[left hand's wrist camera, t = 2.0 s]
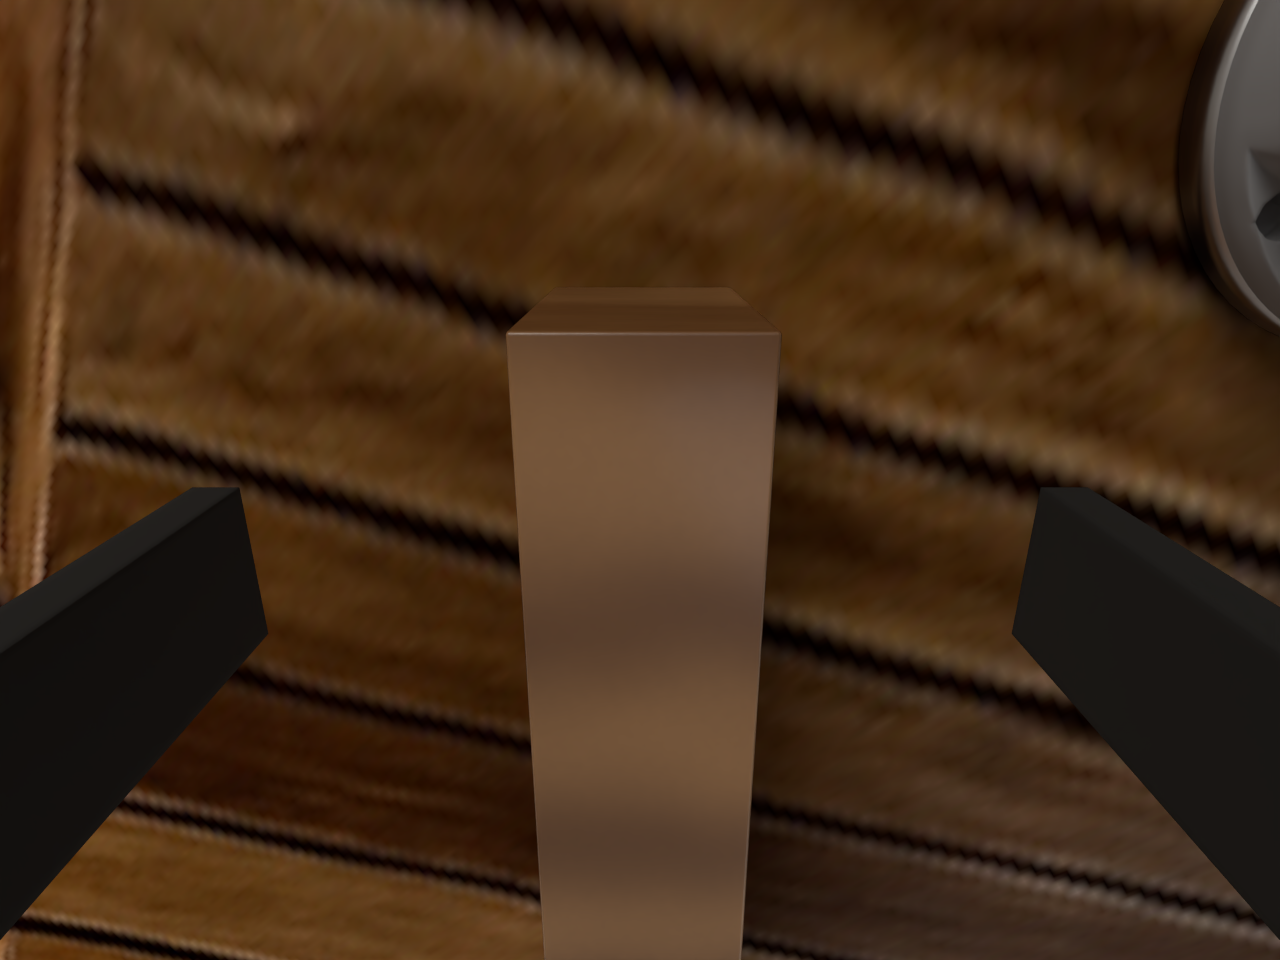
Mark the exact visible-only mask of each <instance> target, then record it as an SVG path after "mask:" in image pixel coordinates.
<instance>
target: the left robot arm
mask: <svg viewBox="0 0 1280 960" xmlns="http://www.w3.org/2000/svg"><path fill="white" fill-rule="evenodd" d="M1178 167H1179V189H1180V197H1181V204H1182V211H1183V215H1184V219H1185V223H1186V227H1187V231H1188V234H1189V237H1190V240H1191V242H1192V245H1193V248H1194V250H1195V253H1196V255H1197V257H1198V259H1199V261H1200V263H1201V265H1202V267H1203V269H1204V271H1205V272H1206V274H1207V275H1208V277H1209V278H1210V280H1211V281H1212V283H1213V284H1214V285H1215V287H1216V288H1217V290H1218V291H1219V292H1220V293H1221V294H1222V295H1223V296H1224V297H1225V299H1226V300H1227V301H1228V302H1229V303H1230V304H1231V305H1232V306H1233V307H1234V308H1236V309H1237V310H1238V311H1239V312H1240V313H1241V314H1242V315H1244V316H1245V317H1246V318H1248V319H1249V320H1251V321H1252V322H1254V323H1255V324H1257V325H1258V326H1260V327H1261V328H1263V329H1265V330H1267V331H1269V332H1271V333H1273V334H1275V335H1277V336H1279V337H1280V0H1224V2H1223V4H1222V6H1221V8H1220V10H1219V12H1218V14H1217V16H1216V18H1215V20H1214V22H1213V24H1212V26H1211V28H1210V31H1209V33H1208V35H1207V38H1206V40H1205V43H1204V45H1203V47H1202V50H1201V52H1200V55H1199V58H1198V61H1197V64H1196V67H1195V70H1194V73H1193V76H1192V79H1191V82H1190V86H1189V91H1188V95H1187V99H1186V103H1185V107H1184V113H1183V119H1182V126H1181V132H1180V143H1179V159H1178ZM267 634H268V630H267V625H266V620H265V615H264V610H263V605H262V600H261V595H260V590H259V585H258V580H257V575H256V570H255V564H254V559H253V554H252V549H251V544H250V539H249V534H248V529H247V524H246V519H245V514H244V509H243V504H242V499H241V494H240V489H239V488H191V489H189V490H188V491H186V492H185V493H183V494H181V495H180V496H178V497H176V498H175V499H173V500H172V501H170V502H168V503H167V504H165V505H164V506H162V507H160V508H159V509H157V510H156V511H154V512H152V513H151V514H149V515H148V516H146V517H144V518H143V519H141V520H140V521H138V522H136V523H135V524H133V525H132V526H130V527H128V528H127V529H125V530H124V531H122V532H120V533H119V534H117V535H115V536H114V537H112V538H111V539H109V540H107V541H106V542H104V543H103V544H101V545H99V546H98V547H96V548H95V549H93V550H91V551H90V552H88V553H87V554H85V555H83V556H82V557H80V558H79V559H77V560H75V561H74V562H72V563H71V564H69V565H67V566H66V567H64V568H63V569H61V570H59V571H58V572H56V573H55V574H53V575H51V576H50V577H48V578H46V579H45V580H43V581H42V582H40V583H38V584H37V585H35V586H34V587H32V588H30V589H29V590H27V591H26V592H24V593H22V594H21V595H19V596H18V597H16V598H14V599H13V600H11V601H10V602H8V603H6V604H5V605H3V606H2V607H0V940H1V939H2V937H3V936H4V935H5V934H6V933H7V932H8V931H9V929H10V928H11V927H12V926H13V925H14V924H15V923H16V921H17V920H18V919H19V918H20V917H21V916H22V915H23V913H24V912H25V911H26V910H27V909H28V908H29V907H30V905H31V904H32V903H33V902H34V901H35V900H36V899H37V897H38V896H39V895H40V894H41V893H42V892H43V891H44V889H45V888H46V887H47V886H48V885H49V884H50V883H51V881H52V880H53V879H54V878H55V877H56V876H57V875H58V873H59V872H60V871H61V870H62V869H63V868H64V867H65V865H66V864H67V863H68V862H69V861H70V860H71V859H72V857H73V856H74V855H75V854H76V853H77V852H78V851H79V849H80V848H81V847H82V846H83V845H84V844H85V843H86V841H87V840H88V839H89V838H90V837H91V836H92V835H93V833H94V832H95V831H96V830H97V829H98V828H99V827H100V825H101V824H102V823H103V822H104V821H105V820H106V819H107V817H108V816H109V815H110V814H111V813H112V812H113V811H114V809H115V808H116V807H117V806H118V805H119V804H120V803H121V801H122V800H123V799H124V798H125V797H126V796H127V795H128V793H129V792H130V791H131V790H132V789H133V788H134V787H135V785H136V784H137V783H138V782H139V781H140V780H141V779H142V777H143V776H144V775H145V774H146V773H147V772H148V771H149V769H150V768H151V767H152V766H153V765H154V764H155V763H156V761H157V760H158V759H159V758H160V757H161V756H162V755H163V753H164V752H165V751H166V750H167V749H168V748H169V747H170V745H171V744H172V743H173V742H174V741H175V740H176V739H177V737H178V736H179V735H180V734H181V733H182V732H183V731H184V729H185V728H186V727H187V726H188V725H189V724H190V723H191V721H192V720H193V719H194V718H195V717H196V716H197V715H198V713H199V712H200V711H201V710H202V709H203V708H204V707H205V705H206V704H207V703H208V702H209V701H210V700H211V699H212V697H213V696H214V695H215V694H216V693H217V692H218V691H219V689H220V688H221V687H222V686H223V685H224V684H225V683H226V681H227V680H228V679H229V678H230V677H231V676H232V675H233V673H234V672H235V671H236V670H237V669H238V668H239V666H240V665H241V664H242V663H243V662H244V661H245V660H246V658H247V657H248V656H249V655H250V654H251V653H252V652H253V650H254V649H255V648H256V647H257V646H258V645H259V644H260V642H261V641H262V640H263V639H264V638H265V637H266V636H267ZM1012 634H1013V636H1014V637H1015V638H1016V639H1017V640H1018V641H1019V642H1020V644H1021V645H1022V646H1023V647H1024V648H1025V649H1026V650H1027V652H1028V653H1029V654H1030V655H1031V656H1032V657H1033V658H1034V660H1035V661H1036V662H1037V663H1038V664H1039V665H1040V667H1041V668H1042V669H1043V670H1044V671H1045V672H1046V673H1047V675H1048V676H1049V677H1050V678H1051V679H1052V680H1053V681H1054V683H1055V684H1056V685H1057V686H1058V687H1059V688H1060V689H1061V691H1062V692H1063V693H1064V694H1065V695H1066V696H1067V697H1068V699H1069V700H1070V701H1071V702H1072V703H1073V704H1074V705H1075V707H1076V708H1077V709H1078V710H1079V711H1080V712H1081V713H1082V715H1083V716H1084V717H1085V718H1086V719H1087V720H1088V721H1089V723H1090V724H1091V725H1092V726H1093V727H1094V728H1095V729H1096V731H1097V732H1098V733H1099V734H1100V735H1101V736H1102V737H1103V739H1104V740H1105V741H1106V742H1107V743H1108V744H1109V745H1110V747H1111V748H1112V749H1113V750H1114V751H1115V752H1116V753H1117V755H1118V756H1119V757H1120V758H1121V759H1122V760H1123V761H1124V763H1125V764H1126V765H1127V766H1128V767H1129V768H1130V769H1131V771H1132V772H1133V773H1134V774H1135V775H1136V776H1137V777H1138V779H1139V780H1140V781H1141V782H1142V783H1143V784H1144V785H1145V787H1146V788H1147V789H1148V790H1149V791H1150V792H1151V793H1152V795H1153V796H1154V797H1155V798H1156V799H1157V800H1158V801H1159V803H1160V804H1161V805H1162V806H1163V807H1164V808H1165V809H1166V811H1167V812H1168V813H1169V814H1170V815H1171V816H1172V817H1173V819H1174V820H1175V821H1176V822H1177V823H1178V824H1179V825H1180V827H1181V828H1182V829H1183V830H1184V831H1185V832H1186V833H1187V835H1188V836H1189V837H1190V838H1191V839H1192V840H1193V841H1194V843H1195V844H1196V845H1197V846H1198V847H1199V848H1200V849H1201V851H1202V852H1203V853H1204V854H1205V855H1206V856H1207V857H1208V859H1209V860H1210V861H1211V862H1212V863H1213V864H1214V865H1215V867H1216V868H1217V869H1218V870H1219V871H1220V872H1221V873H1222V875H1223V876H1224V877H1225V878H1226V879H1227V880H1228V881H1229V883H1230V884H1231V885H1232V886H1233V887H1234V888H1235V889H1236V891H1237V892H1238V893H1239V894H1240V895H1241V896H1242V897H1243V899H1244V900H1245V901H1246V902H1247V903H1248V904H1249V905H1250V907H1251V908H1252V909H1253V910H1254V911H1255V912H1256V913H1257V915H1258V916H1259V917H1260V918H1261V919H1262V920H1263V921H1264V923H1265V924H1266V925H1267V926H1268V927H1269V928H1270V929H1271V931H1272V932H1273V933H1274V934H1275V935H1276V936H1277V937H1278V939H1279V940H1280V607H1278V606H1277V605H1275V604H1274V603H1272V602H1270V601H1269V600H1267V599H1266V598H1264V597H1262V596H1261V595H1259V594H1258V593H1256V592H1254V591H1253V590H1251V589H1250V588H1248V587H1246V586H1245V585H1243V584H1242V583H1240V582H1238V581H1237V580H1235V579H1234V578H1232V577H1230V576H1229V575H1227V574H1225V573H1224V572H1222V571H1221V570H1219V569H1217V568H1216V567H1214V566H1213V565H1211V564H1209V563H1208V562H1206V561H1205V560H1203V559H1201V558H1200V557H1198V556H1197V555H1195V554H1193V553H1192V552H1190V551H1189V550H1187V549H1185V548H1184V547H1182V546H1181V545H1179V544H1177V543H1176V542H1174V541H1173V540H1171V539H1169V538H1168V537H1166V536H1165V535H1163V534H1161V533H1160V532H1158V531H1156V530H1155V529H1153V528H1152V527H1150V526H1148V525H1147V524H1145V523H1144V522H1142V521H1140V520H1139V519H1137V518H1136V517H1134V516H1132V515H1131V514H1129V513H1128V512H1126V511H1124V510H1123V509H1121V508H1120V507H1118V506H1116V505H1115V504H1113V503H1112V502H1110V501H1108V500H1107V499H1105V498H1104V497H1102V496H1100V495H1099V494H1097V493H1095V492H1094V491H1092V490H1091V489H1089V488H1041V489H1040V494H1039V499H1038V504H1037V509H1036V514H1035V519H1034V524H1033V529H1032V534H1031V539H1030V544H1029V549H1028V554H1027V559H1026V564H1025V570H1024V575H1023V580H1022V585H1021V590H1020V595H1019V600H1018V605H1017V610H1016V615H1015V620H1014V625H1013V630H1012Z"/></svg>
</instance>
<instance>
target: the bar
mask: <svg viewBox="0 0 1280 960" xmlns="http://www.w3.org/2000/svg"><path fill="white" fill-rule="evenodd" d="M781 338H782V335H781V332H780V331H779V330H778V329H777V328H775V327H774V326H773V325H772V324H771V323H770V322H769V321H767V320H766V319H765V318H764V317H763V316H762V315H761V314H760V313H758V312H757V311H756V310H755V309H754V308H753V307H752V306H750V305H749V304H748V303H747V302H746V301H745V300H744V299H742V298H741V297H740V296H739V295H738V294H737V293H736V292H735V291H733V290H732V289H731V288H729V287H556V288H554V289H553V290H552V291H551V292H550V293H549V294H548V295H547V296H545V297H544V298H543V299H542V300H541V301H540V302H539V303H538V304H537V305H536V306H535V307H534V308H532V309H531V310H530V311H529V312H528V313H527V314H526V315H525V316H524V317H523V318H522V319H520V320H519V321H518V322H517V323H516V324H515V325H514V326H513V327H512V328H511V329H510V330H509V331H507V333H506V348H507V365H508V381H509V397H510V413H511V429H512V445H513V461H514V477H515V493H516V510H517V526H518V542H519V558H520V574H521V590H522V606H523V622H524V639H525V655H526V671H527V687H528V703H529V719H530V735H531V751H532V767H533V784H534V800H535V816H536V832H537V848H538V864H539V880H540V896H541V912H542V929H543V945H544V960H741V955H742V940H743V924H744V909H745V893H746V878H747V863H748V847H749V832H750V816H751V801H752V785H753V770H754V755H755V739H756V724H757V708H758V693H759V677H760V662H761V647H762V631H763V616H764V600H765V585H766V569H767V554H768V538H769V523H770V508H771V492H772V477H773V461H774V446H775V430H776V415H777V400H778V384H779V369H780V353H781Z"/></svg>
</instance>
